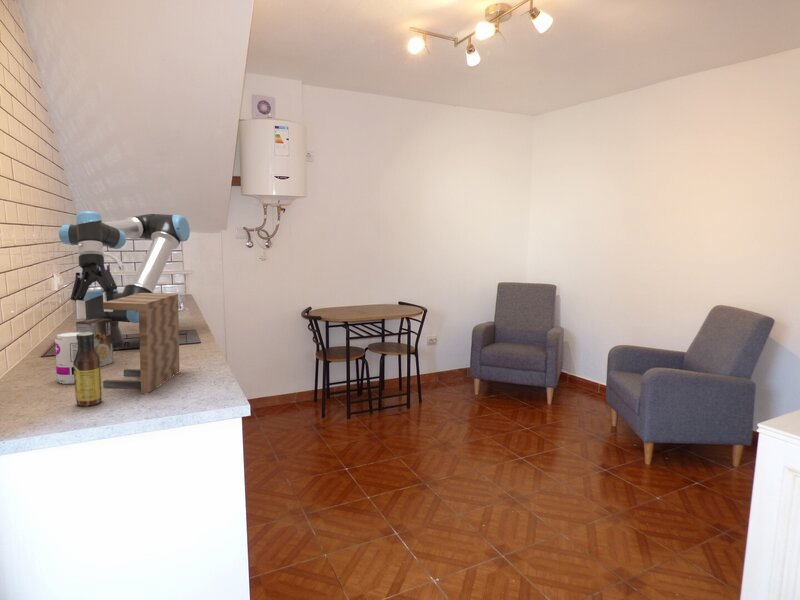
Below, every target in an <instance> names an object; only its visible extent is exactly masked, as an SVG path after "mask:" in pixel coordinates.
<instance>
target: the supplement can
mask: <svg viewBox="0 0 800 600" xmlns="http://www.w3.org/2000/svg"><path fill="white" fill-rule="evenodd" d="M78 333H82V332H77V331H69V332H61V333H58V334H56V337H55V339H54V351H55V353H54V354H55V371H56V381H57V383H59V384H61V383H62V384H61V385H75V383H74V367H73V362H74V359H75V357H76V354H77V351H78V349H77V348H78V341H77V339H76V338H77V334H78Z"/></svg>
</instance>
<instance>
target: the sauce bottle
mask: <svg viewBox="0 0 800 600" xmlns="http://www.w3.org/2000/svg"><path fill="white" fill-rule="evenodd" d="M76 339H77V341H78V348H77V349H78V351H77V354H76V357H75V359H74V362H73V367H74V383H75V384H74V395H75V401H76V404H77V406H79V405H80V406H82V407H90V406H89V405H92V406H95V405H98V404H100V403H101V402H102V399H103V398H102V396H103V390H102V389H103V388H102V387H103V384H102V373H101V371H102V370H101V367H100V358H99V355H98V354H97V353H96V351H95V350H94V340H93V339H94V333H92V332H84V333H78V334H77V338H76Z"/></svg>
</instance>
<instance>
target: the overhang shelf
mask: <svg viewBox="0 0 800 600" xmlns="http://www.w3.org/2000/svg"><path fill="white" fill-rule="evenodd" d="M103 309H108V310H139V323H138V331H139V332H138V333H139V334H138V335H139V366H140V368H125V369H123V376H124V377H140V380H133V379H132V380H131V379H130V380H125V379H105V380H103V381H102V387H103V388H106V389H110V388H111V389H140V394H141V393H149V392H150V391H152V390H153V389H154V390H156V389H157V388H158V387H157V386H159V385H160V384H162V383H163V382H164V381H166V380H167V379H169V378H170V377H171V378H173V377H174V376H176V375H177V374H178V373H177V372H179V371H180V328H179V327H180V326H179V325H180V324H179V322H180V321H179V315H180V314H179V293H167V292H166V293H161V292H157V293H156V292H153V293H138V294H134V295H131V296H127V297H123V298H119V299H115V300H111V301H107V302H103ZM180 372H181V371H180ZM180 372H179V373H180ZM176 373H177V374H176ZM175 374H176V375H175ZM173 375H174V376H173ZM172 376H173V377H172ZM171 378H170V379H171ZM170 379H169V380H170ZM167 381H168V380H167ZM167 381H166V382H167ZM164 383H165V382H164ZM164 383H163V384H164ZM163 384H162V385H163ZM160 386H161V385H160ZM160 386H159V387H160ZM156 387H157V388H156ZM103 388H102V389H103ZM155 388H156V389H155ZM154 390H153V391H154ZM153 391H152V392H153ZM150 393H151V392H150ZM150 393H149V394H150Z"/></svg>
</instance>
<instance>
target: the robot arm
mask: <svg viewBox="0 0 800 600" xmlns="http://www.w3.org/2000/svg"><path fill="white" fill-rule="evenodd" d="M102 221H103V219H102V216H101V214H100V213H99V212H96V211H92V210H85V211H80V212H78V213H77V214H76V224H64V225H62V226H60V228H59V230H58V236H59V237H58V238H59V240H60V241H61V243H63V244H65V245H69V246H70V245H71V246H77V248H78V249H77V251H78V253H77V254H78V255H79V256H78V266H79V267H80V268H81V269H82V270H81V272H75V280H74V284H73V287H72V291H71V295H70V300H71V301H75V309H76V320H89V319H94V318H104V319H111V322H112V341H113V349H114V348H119V347H122V346H124V345H125V339H124V336H123V334H122V333H123V332H121V328H120V326H119V322H121V323H133V324H139V310H108V309H103V302H107V301H111V300H115V299H119V298H123V297H127V296H131V295H134V294H138V293H154V290H155V289H156V286H157V285H158V282H159V280H160V278H161V275H162V273H163V272H164V269H165V267H166V265H167V263H168V260H169V258H170V256H171V254H172V252H173V250H175V249H177V248H179V245H180V244H181V242H186V241H188V240H189V238H190V234H191V232H190V231H191V229H190V225H189V222H188V220H187V218H186V217H185V216H184V215H181V214H175V213H174V214H161V213H159V214H158V213H147V214H142V215H135V216H129V217H126V218H125V219H122V220H121V219H119V220H113V221H112V220H111V221H103V222H102ZM127 238H129V239H131V240H137V239H139V240H140V239H144V240H150V241H152V242H151V243H150V246H149V247H148V250H147V252H146V253H145V256H144V257H143V260H142V261H141V264H140V266H139V267H138V270H137V271H136V273H135V276H134V278H133V279H132V282H131V283H128V284H126V285H125V286H124V289H123V291H122V292H119V291H118V286H117V284H116V281H115V279H114V277H113V275H112V273H111V271H110V266H109V265H108V264H105V258H104V257H105V256H104V254H105V253H104V251H105V250H104V247H108V248H109V249H115V250H119V249H121V248H123V247H124V246H125V245H126V242H127ZM95 282H97V283H98V284H99V287H101V288H102V289H95V290H89V288H90V286H91V285H92V284H93V283H95ZM88 290H89V291H88Z"/></svg>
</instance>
